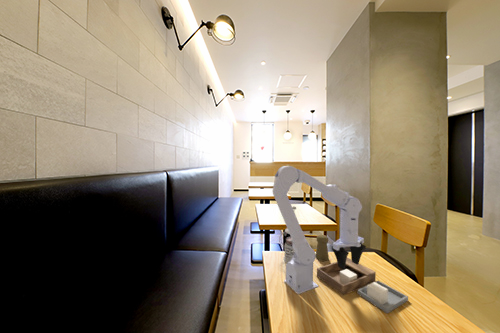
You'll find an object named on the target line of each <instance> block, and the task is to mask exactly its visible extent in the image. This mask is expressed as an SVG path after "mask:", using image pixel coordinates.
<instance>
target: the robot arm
mask: <svg viewBox="0 0 500 333" xmlns="http://www.w3.org/2000/svg"><path fill="white" fill-rule="evenodd" d="M295 183H300V184H301V183H302V184H305V185H307V186H309V187H311V188H312V189H315V191H318V192H320V193H321V196H322V198H323V199H325V200H327V201H328V202H330V203H331V204H334V205H335V206H337V207H338V208H339V209H340V218H339V219H340V220H339V221H340V223H339V224H340V226H339V227H340V228H339V231H340V232H339V239H337V240H336V241H335V242H332V246H331V250H332V251H333V253H334V255H335V258H336V262H337V263H338V267H340V268H341V269H343V270H344V269H345V266H346V259H347V258H348V255H349V251H347V250H346V249H345V248H348V247H349V249H350V257H351V258H350V259H351V260H352V262H353V263H355V264H357V265H358V264H360V260H361V256H362V254H363V253H364V251H365V250H366V245H365V244H364V243H365V237H362V236H359V217H360V212H361V211H362V209H363V205H362V203H361V201H360V200H359V198H357V197H354V196H352V195H350V192H348V191H343V190H342V189H340V188H339V186H338V185H337V184H332V183H331V184H325V183H323V182H322V181H320V180H319V179H317V178H315V177H313V176H312V175H311V174H309V173H307V172H306V171H303V170H302V169H298V168H296V167H294V166H293V165H282V166H280V167H279V168H278V170H277V171H276V173H275V175H274V182H273V186H272V195H273V198H274V199H275V202H276V204H277V205H276V206H277V207H278V209H279V211H280V214H281V217H282V219H283V221H284V224H285V226H286V229H287V228H288V231H289V233H290V234H289V235H290V236H289V237H291V239H292V243H291V244H292V245H291V246H292V247H293V249H294V251H295V253H294V255H293V259H292V260H291V261H290V262H288V263H286V264H285V279H284V283H285V284H287V285H288V286H289V287H290V288H291V289H292V290H293V291H294V292H295V293H296V294H298V295H300V294H303V293H306V292H307V291H310V290H314V289H316V288H318V287H319V285H318V284H317V283H316V282H314V262H315V260H316V250H314V249H313V248H312V247H311V245H310V244H309V242H308V240H307V239H306V236H305V234H304V231H303V230H302V228H301V225H300V223H299V221H298V218H297V215H296V213H295V209H293V208H292V207H293V205H292V203H291V201H290V199H289V197H288V192H289V191H290V189H291V187H292V186H293V185H294V184H295ZM302 231H303V232H302Z"/></svg>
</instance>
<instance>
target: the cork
mask: <svg viewBox="0 0 500 333" xmlns="http://www.w3.org/2000/svg"><path fill="white" fill-rule="evenodd" d="M315 240H316V241H317V244H316V250H315V254H316V257H315V260H317V261H319V262H325V263H326V262H328V261H329V260H330V258H329V249H328V243H329V238H328V236H327V235H324V234H317V236H316V239H315Z"/></svg>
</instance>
